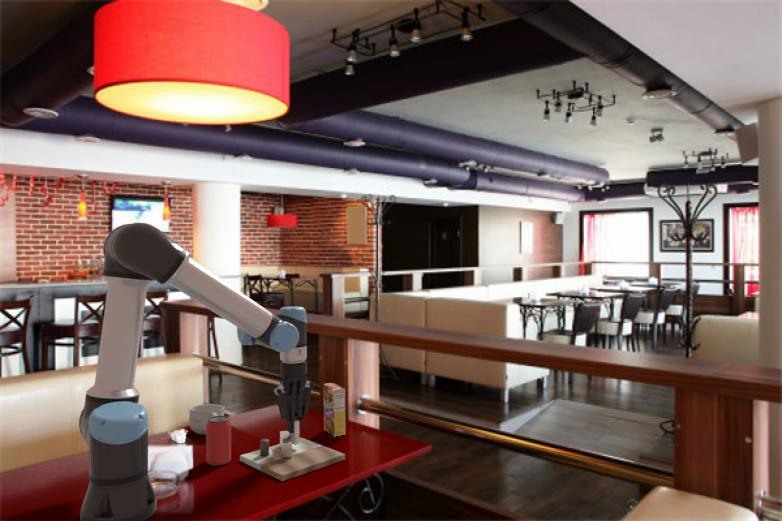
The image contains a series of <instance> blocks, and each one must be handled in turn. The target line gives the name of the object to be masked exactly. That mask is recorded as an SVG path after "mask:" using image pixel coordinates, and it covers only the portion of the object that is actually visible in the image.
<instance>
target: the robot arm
mask: <svg viewBox="0 0 782 521" xmlns="http://www.w3.org/2000/svg"><path fill="white" fill-rule="evenodd" d="M102 250H103V257H104V261H103V271H102V278H103V279H104V281H105V282H106V283H107V292H106V299H105V307H104V314H103V321H102V327H101V328H102V329H101V334H100V343H99V349H98V357H97V358H98V359H97V363H96V364H97V365H96V373H95V378H94V379H95V380H94V384H93V386H91V387H90V388H89V389H87V390H86V391H85V393H86V394H85V398H84V406H83V409H82V410H81V413H80V415H79V419H78V428H79V433H80V434H81V436H82V438H83V440H84V442H85V443H86V445H87V448H88V458H89V460H88V464H89V465H88V466H89V467H88V470H89V471H88V472H89V473H88V474H89V476H88V477H89V478H88V480H89V482H88V487H87V491H86V493H85V497H84V499H83V502H82V505H81V508H80V514H79V521H146V520H148V519H150V517H152V516H153V515H154V514H155V513H156V512H157V510H158V509H157V508H158V506H157V503H158V501H157V494H156V493H155V490H154V488H153V484H152V482H151V479H150V477H149V425H150V421H149V417H148V411H147V408H146V407H145V406H144V405H143V404H140V403H139V401H140V394H141V392H140V391H139V389H137V388H136V387H135V381H136V380H135V379H136V373H137V365H138V356H139V350H140V342H141V337H142V336H141V335H142V328H143V321H144V320H143V319H144V313H145V307H146V306H145V305H146V298H147V293H148V292H147V291H148V288H149V287H150V286H151V285H153V284H154V283H155V282H157V283H158V284H160V285H162V286H164V285H170V286H171V287H173V288H175V289H176V290H179V291H180V292H181V293H183V294H184V295H185V296H188V297H189V298H190V299H192V300H194V301H196V302H197V303H199V304H201V305H202V306H204V307H205V308H207V309H208V310H210V311H211V312H212V313H215V314H216V315H218V316H219V317H221V319H225V320H226V321H228V323H230V324H232V325H234V326H235V327H236V334H237V339H238V342H239V343H240V344H241V345H243V346H254V345H260V346H262V347H265V348H268V349H271V350H274V351H275V352H277V353H279V360H280V361H281V362H280V364H279V369H280V377H281V379H280V382H279V385H278V386H277V387H274V388H272V392H273V393H274V395H275V397H276V401H277V406H278V411H279V415H280V419H281V420H283V421H285V422H287V431H288V432H289V433H290V436H291V440H292V444H294V445H296V444H300V440H299V438H300V431H302V421H304V417H307V415H308V412H309V405H310V400H311V394H312V391H313V388H314V386H315V382H313V381H309V380H308V377H307V373H308V362H307V357H308V354H307V351H308V347H307V343H308V342H307V338H308V336H307V324H308V320H307V310H306V309H305V308H304V307H303V306H283V307H281V308H280V309H279V312H278V314H276V315H275V314H274V313H272V312H271V311H270V310H268V309H267V308H265V307H263V306H262V305H260V303H257V302H256V301H255V300H253V299H252V298H250V297H248V295H246V294H244V293H243V292H241V291H240V290H238V289H237V288H235V287H234V286H232V285H231V284H229V283H228V282H227V281H225V280H224V279H222V278H220V277H219V276H218V275H216V274H215V273H213V272H212V271H210V270H209V269H207V268H205V267H204V266H203V265H201V264H200V263H198V261H195V260H194V259H192V258H191V257H190V254H189V251H188V250H187V249H186V248H184V247H182V245H180V244H179V243H177V242H176V241H175V240H173V239H172V238H171V237H169V236H168V235H167V234H166V233H165V232H163V231H161V229H159V228H157V227H156V226H155V225H152V224H150V223H146V222H132V223H125V224H122V225H120V226H117V227H115V228H114V229H113V230H112V231H110V233H108V235H107V236H106V238H105V240H104V243H103V248H102Z"/></svg>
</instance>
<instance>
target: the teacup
mask: <svg viewBox="0 0 782 521" xmlns="http://www.w3.org/2000/svg"><path fill="white" fill-rule="evenodd" d="M188 410H189V414H188V417H189V418H188V421H189V422H188V423H189V428H190V429H191V430H192V431H193V432H194V433H195V434H197V435H206V426H207V423H208V419H209V418H211V417H214V416H225V406H224V405H221V404H216V403H213V404H212V403H207V404H206V403H205V404H197V405H193V406H191V407H189V409H188Z"/></svg>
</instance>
